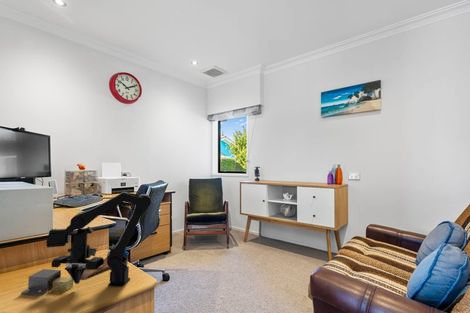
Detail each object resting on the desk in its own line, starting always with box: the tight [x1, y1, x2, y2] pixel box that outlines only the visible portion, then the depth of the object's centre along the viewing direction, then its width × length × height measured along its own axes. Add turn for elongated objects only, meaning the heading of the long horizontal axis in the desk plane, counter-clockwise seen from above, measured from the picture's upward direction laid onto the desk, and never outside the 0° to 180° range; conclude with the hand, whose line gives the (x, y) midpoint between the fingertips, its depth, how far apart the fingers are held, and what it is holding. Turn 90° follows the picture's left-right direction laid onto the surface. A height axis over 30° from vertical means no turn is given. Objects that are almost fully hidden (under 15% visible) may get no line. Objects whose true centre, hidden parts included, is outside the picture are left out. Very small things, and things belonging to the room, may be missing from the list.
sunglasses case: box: [80, 257, 111, 281], centre depth 113 cm, size 18×7×7 cm, turn 153°
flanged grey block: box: [20, 268, 62, 296], centre depth 97 cm, size 8×12×6 cm, turn 175°
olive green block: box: [51, 276, 74, 292], centre depth 97 cm, size 6×4×4 cm, turn 85°
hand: (77, 283), depth 96 cm, fingers closed
